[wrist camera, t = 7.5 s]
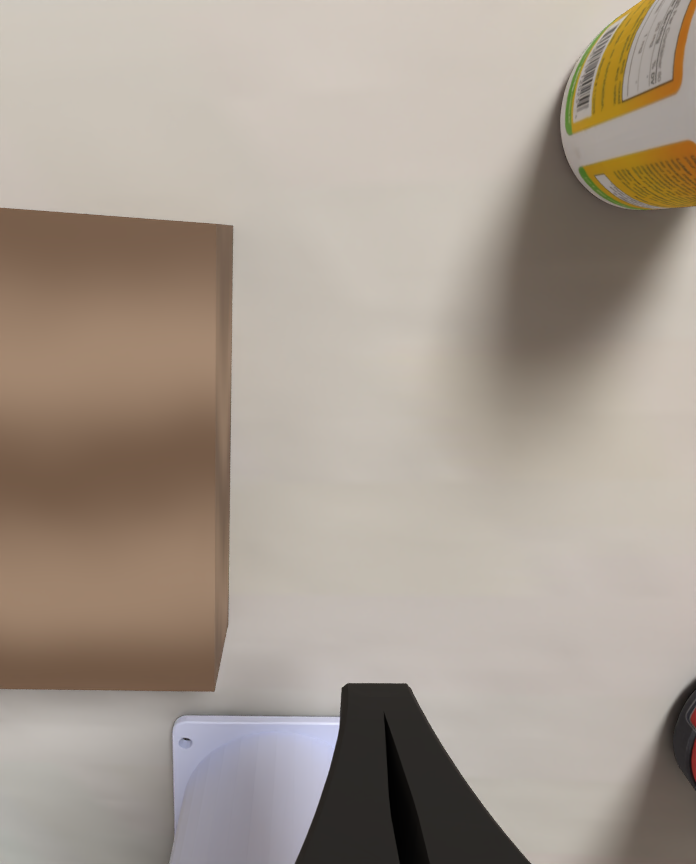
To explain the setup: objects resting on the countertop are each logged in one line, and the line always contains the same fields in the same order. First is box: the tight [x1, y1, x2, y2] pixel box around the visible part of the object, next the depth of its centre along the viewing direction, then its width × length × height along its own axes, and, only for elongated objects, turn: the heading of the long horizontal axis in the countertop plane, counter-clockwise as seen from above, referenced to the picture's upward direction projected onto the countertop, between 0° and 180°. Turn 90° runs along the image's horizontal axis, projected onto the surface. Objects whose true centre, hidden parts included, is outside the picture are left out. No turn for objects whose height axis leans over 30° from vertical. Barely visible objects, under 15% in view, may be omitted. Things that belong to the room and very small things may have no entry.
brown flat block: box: [0, 208, 233, 692], centre depth 18 cm, size 14×10×4 cm
